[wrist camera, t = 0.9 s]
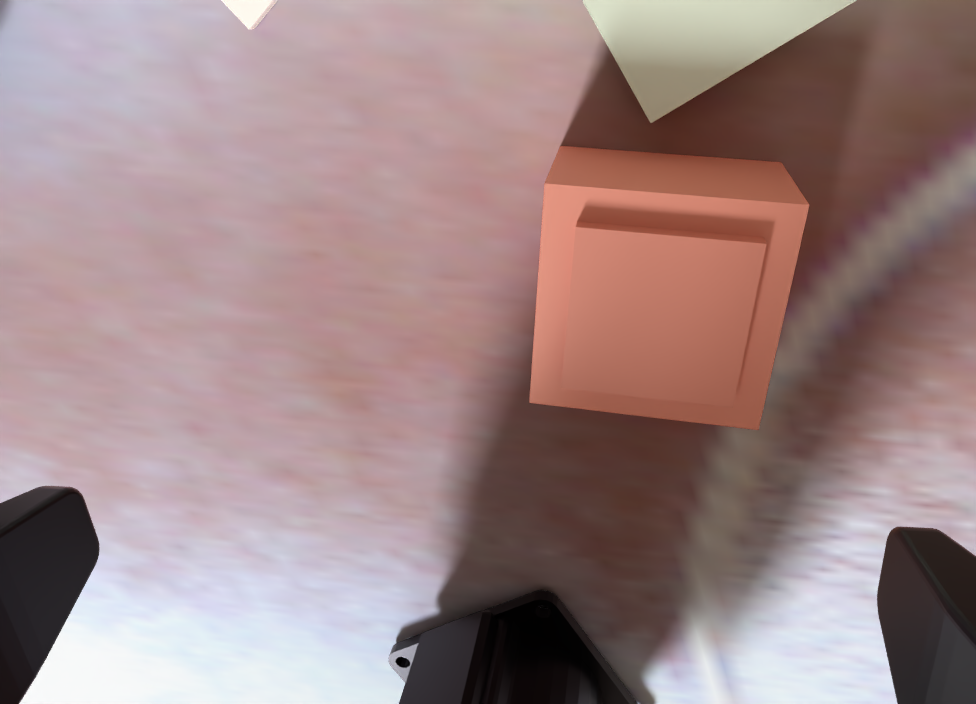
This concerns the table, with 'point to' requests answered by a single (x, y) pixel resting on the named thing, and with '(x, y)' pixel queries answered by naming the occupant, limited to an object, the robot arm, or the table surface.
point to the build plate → (696, 41)
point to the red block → (663, 283)
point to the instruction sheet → (250, 10)
